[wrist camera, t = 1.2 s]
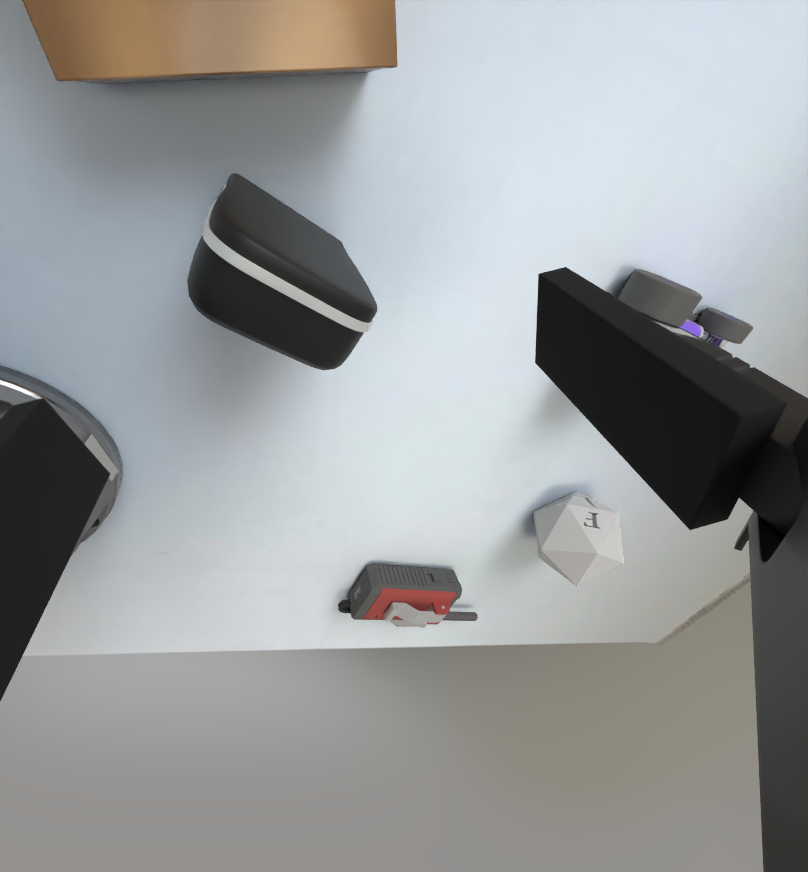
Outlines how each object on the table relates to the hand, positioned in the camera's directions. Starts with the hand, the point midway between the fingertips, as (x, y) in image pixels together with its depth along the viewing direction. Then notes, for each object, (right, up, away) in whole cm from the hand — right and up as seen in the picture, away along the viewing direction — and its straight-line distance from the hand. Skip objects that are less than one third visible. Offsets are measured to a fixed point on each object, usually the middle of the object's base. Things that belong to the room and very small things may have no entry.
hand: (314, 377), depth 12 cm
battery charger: (-5, +10, +12) cm, 16 cm away
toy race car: (+24, +7, +25) cm, 35 cm away
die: (+20, -10, +36) cm, 42 cm away
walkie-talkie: (+5, -21, +37) cm, 43 cm away
